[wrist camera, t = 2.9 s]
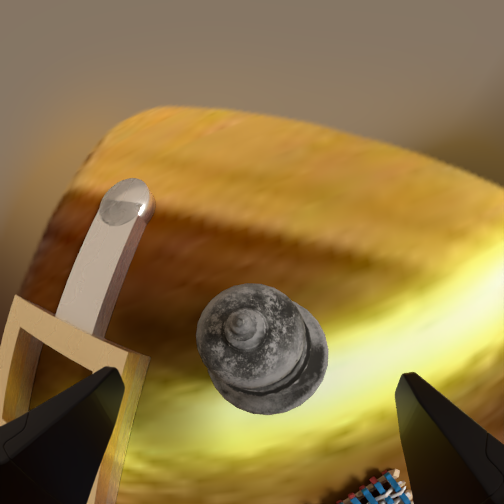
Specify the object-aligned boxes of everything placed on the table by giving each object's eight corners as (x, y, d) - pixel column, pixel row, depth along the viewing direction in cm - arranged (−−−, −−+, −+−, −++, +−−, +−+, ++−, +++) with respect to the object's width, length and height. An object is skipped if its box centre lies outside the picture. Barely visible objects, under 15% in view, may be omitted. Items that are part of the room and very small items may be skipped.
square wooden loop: (104, 584, 8) (87, 596, 6) (10, 513, 11) (-9, 517, 8) (150, 357, 17) (128, 352, 15) (38, 305, 20) (15, 294, 17)
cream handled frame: (115, 502, 13) (104, 508, 11) (11, 425, 15) (0, 425, 14) (206, 196, 22) (201, 185, 21) (92, 184, 24) (85, 174, 23)
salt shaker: (210, 328, 18) (100, 243, 7) (301, 299, 18) (318, 169, 7) (237, 419, 15) (147, 481, 4) (333, 388, 15) (422, 401, 5)
